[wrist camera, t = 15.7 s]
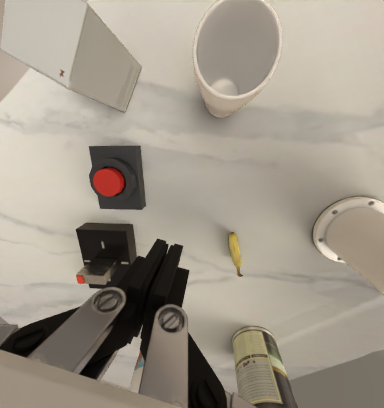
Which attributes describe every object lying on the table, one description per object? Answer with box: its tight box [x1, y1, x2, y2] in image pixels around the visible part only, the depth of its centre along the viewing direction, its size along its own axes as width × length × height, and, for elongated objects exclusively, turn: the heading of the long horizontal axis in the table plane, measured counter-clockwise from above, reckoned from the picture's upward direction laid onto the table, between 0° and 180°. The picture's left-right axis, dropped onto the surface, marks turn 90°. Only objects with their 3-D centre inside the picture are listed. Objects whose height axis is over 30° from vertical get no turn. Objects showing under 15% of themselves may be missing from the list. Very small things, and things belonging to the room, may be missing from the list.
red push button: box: [93, 168, 125, 196], centre depth 28 cm, size 4×4×2 cm
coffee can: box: [232, 327, 298, 408], centre depth 36 cm, size 10×10×14 cm
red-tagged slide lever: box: [76, 258, 119, 285], centre depth 33 cm, size 5×2×5 cm, turn 90°
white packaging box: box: [0, 0, 141, 112], centre depth 22 cm, size 7×7×13 cm
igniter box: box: [89, 146, 146, 210], centre depth 31 cm, size 11×8×4 cm
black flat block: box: [76, 223, 137, 289], centre depth 37 cm, size 14×10×3 cm
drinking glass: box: [193, 0, 282, 118], centre depth 20 cm, size 7×7×15 cm
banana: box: [229, 233, 243, 277], centre depth 33 cm, size 8×2×4 cm, turn 14°
